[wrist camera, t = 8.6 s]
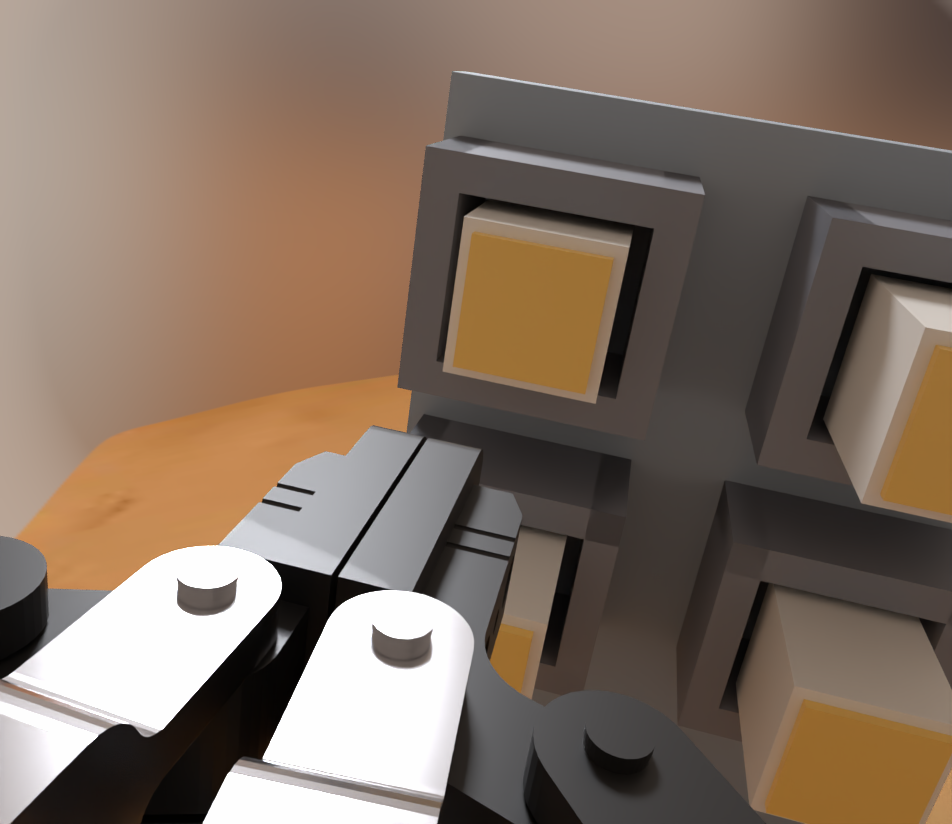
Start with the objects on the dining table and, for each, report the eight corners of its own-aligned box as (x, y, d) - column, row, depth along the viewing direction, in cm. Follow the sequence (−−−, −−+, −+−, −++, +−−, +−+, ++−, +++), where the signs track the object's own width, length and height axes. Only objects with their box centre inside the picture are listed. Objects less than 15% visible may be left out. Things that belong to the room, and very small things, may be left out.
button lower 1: (545, 635, 27) (568, 527, 26) (519, 755, 23) (546, 631, 21) (424, 605, 28) (440, 497, 26) (373, 716, 23) (389, 592, 22)
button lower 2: (869, 716, 26) (913, 607, 25) (914, 862, 21) (974, 738, 20) (735, 683, 27) (771, 574, 25) (750, 818, 22) (796, 694, 20)
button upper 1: (607, 346, 26) (636, 215, 25) (594, 407, 21) (629, 249, 20) (480, 320, 27) (500, 191, 25) (439, 375, 22) (461, 218, 20)
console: (812, 730, 37) (1032, 160, 28) (859, 943, 28) (1209, 201, 19) (412, 628, 40) (490, 71, 30) (335, 794, 30) (414, 70, 21)
